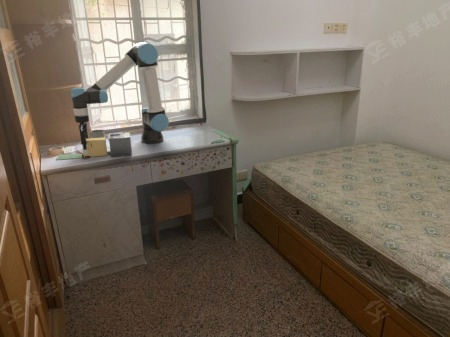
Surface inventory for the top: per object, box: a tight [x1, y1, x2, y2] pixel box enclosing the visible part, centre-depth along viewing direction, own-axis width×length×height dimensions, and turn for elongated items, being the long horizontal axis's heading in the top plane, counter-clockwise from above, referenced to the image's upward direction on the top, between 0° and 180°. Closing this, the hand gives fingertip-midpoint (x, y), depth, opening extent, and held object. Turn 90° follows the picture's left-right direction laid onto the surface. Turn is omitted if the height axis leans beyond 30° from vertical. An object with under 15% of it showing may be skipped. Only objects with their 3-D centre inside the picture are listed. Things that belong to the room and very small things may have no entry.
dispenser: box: [107, 132, 133, 158], centre depth 218 cm, size 13×12×12 cm
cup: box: [90, 129, 106, 138], centre depth 233 cm, size 8×8×10 cm
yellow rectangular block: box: [83, 137, 108, 158], centre depth 215 cm, size 13×5×10 cm, turn 104°
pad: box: [55, 152, 83, 161], centre depth 213 cm, size 14×9×1 cm, turn 104°
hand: (86, 152), depth 215 cm, fingers closed on yellow rectangular block, 5 cm apart
